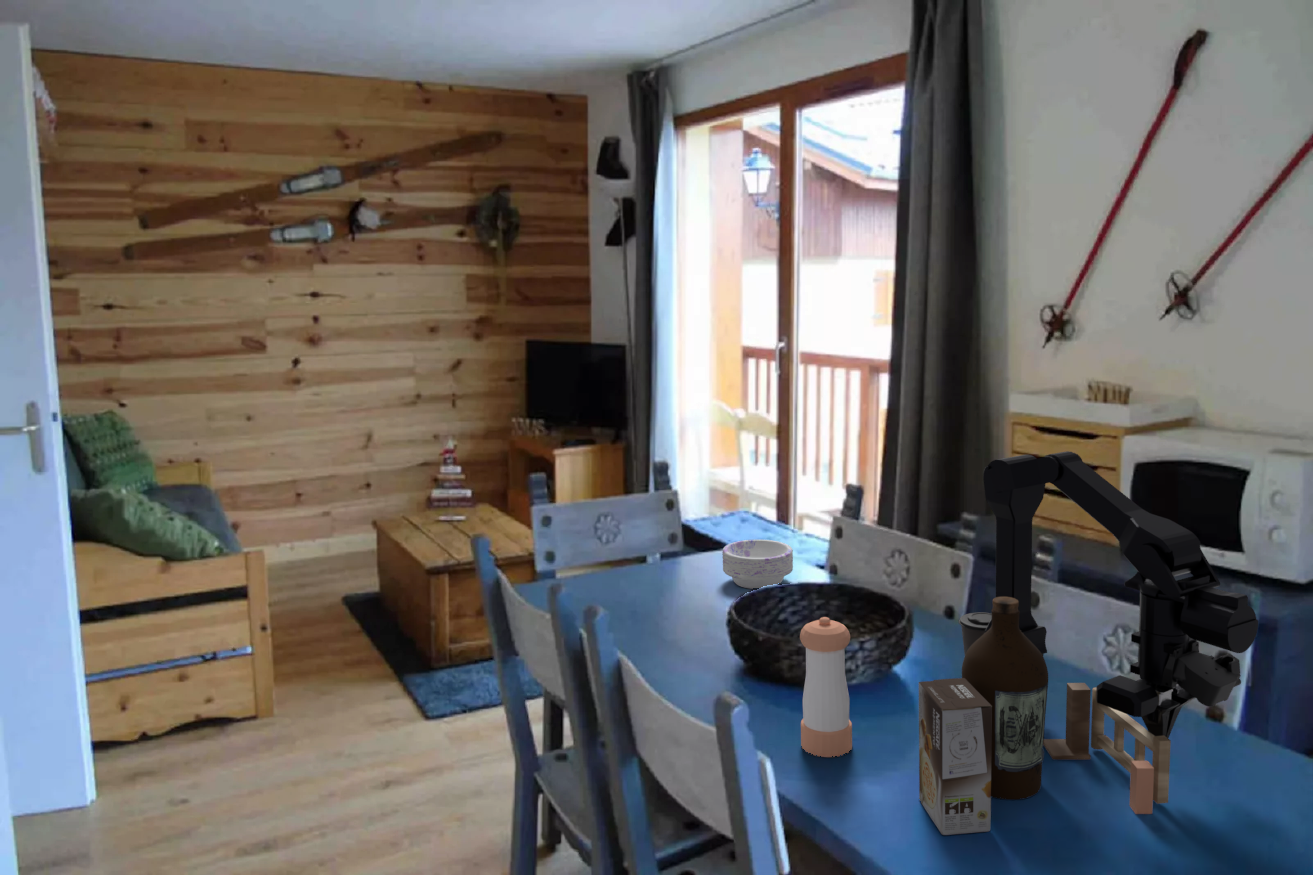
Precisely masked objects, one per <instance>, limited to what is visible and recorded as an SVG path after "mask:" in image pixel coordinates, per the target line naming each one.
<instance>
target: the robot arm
mask: <svg viewBox="0 0 1313 875" xmlns="http://www.w3.org/2000/svg"><path fill="white" fill-rule="evenodd" d="M982 476H983V477H982V478H983V480H982V481H983V486H984V487H983V488H984V495H985V496H984V497H985V500H986V503H987V504H988V506H989V508H990V510H992V513H993V514H994V517H995V527H996V528H995V598H996V597H1012V598H1015V599H1017V600H1018V601H1019V606H1018V610H1019V629H1020V630H1021V632H1022V633H1023V634H1024V635H1025V636H1026V637H1027V638H1028V639H1029V640H1030V641H1031V642H1032V643H1033V644H1034V645H1035V646H1036V647H1037V648H1038V650H1039V651H1040V652H1041V654H1042V655H1043V656H1044V654H1048V650H1047V647H1046V638H1047V632H1048V631H1047V628H1046V627H1045V626H1043V625H1042V626H1041V625H1039V624H1038V623H1037V621H1036V619H1035V618H1034V616H1033V615H1032V573H1033V572H1032V564H1033V562H1032V559H1033V558H1032V557H1033V518H1034V516H1035V515H1036V512H1037V510H1038V509H1039V507H1040V505H1041V503H1042V502H1043V499H1044V496H1045V491H1046V490H1045V489H1046V484H1049V483H1050V484H1052V485H1054V487H1056V488H1057V490H1059V491H1060V492H1062V493H1063V494H1064V495H1065V496H1067V498H1069V499H1070V500H1071V501H1072V502H1073V503H1074V504H1076V505H1077V506H1078V507H1079V508H1081V509H1082V510H1083V511H1084V512H1085V513H1086V514H1088V515H1089V516H1090V517H1091V518H1092V519H1094V520H1095V521H1097V523H1099V524H1100V525H1101V526H1102V527H1103V528H1105V529H1106V531H1108V532H1109V533H1111V534H1112V535H1113V536H1114V538H1115V539H1116V540H1117V541H1118V543H1119V546H1120V549H1121V553H1122V555H1123V556H1124V557H1125V558H1126V560H1127V561H1128V562H1129V563H1130V564H1131V565H1132V567H1133V568H1134V569H1135V570H1136V573H1135V574H1134V575H1133V576H1132V577H1131V578H1129V579H1127V580H1125V581H1124V587H1126V588H1129V589H1132V590H1137V591H1139V612H1138V614H1139V617H1138V619H1139V620H1138V622H1139V623H1138V630H1137V632H1133V633H1131V638H1130V641H1131V643H1135V644H1137V645H1138V648H1137V651H1138V652H1137V654H1138V656H1137V661H1136V662H1134V663H1131V664H1130V665H1129V666H1130V667H1129V668H1130V669H1129V671H1130V673H1132V674H1135V675H1137V676H1139V679H1136V680H1135V679H1131V678H1129V677H1126V676H1125V675H1124V676H1123V675H1121V674H1120V675H1117V676H1114V677H1111V678H1109V679H1106V680H1104V681H1102V682H1101V683H1099V684H1098V685H1096V701H1097V703H1100V704H1102V705H1105V706H1107V707H1110V708H1113V709H1115V710H1118V711H1120V712H1123V713H1126V714H1127V715H1129V716H1130V717H1135V718H1141V720H1142V721H1143V723H1144V726H1145V727H1146V729H1147V730H1148V731H1149V732H1150V733H1152V734H1153V735H1154V736H1165V737H1167V738H1168V739H1169V738H1170V736H1171V733H1172V730H1173V728H1174V726H1175V724H1176V721H1177V718H1178V716H1179V714H1180V712H1181V709H1182V708H1183V706H1184V705H1186V704H1187V703H1189V702H1191V701H1193V700H1195V699H1196V700H1197V701H1198V703H1200V704H1201V705H1203V706H1205V707H1215V706H1216V704H1219V703H1221V702H1225V701H1228V699H1229V697H1230V695H1231V694H1232V691H1233V690H1234V688H1236V687H1238V686H1240V685H1242V680H1241V679H1240V678H1241V666H1240V659H1239V658H1237V657H1235V656H1234V655H1233V654H1231V653H1227V654H1224V655H1222V656H1220V657H1218V658H1217V657H1214V656H1213V655H1208V654H1204V653H1201V652H1200V643H1204V644H1206V645H1210V646H1213V647H1217V648H1219V649H1223V650H1226V651H1229V652H1232V653H1234V654H1235V653H1236V654H1242V653H1245V652H1247V650H1248V649H1250V647H1251V646H1252V645H1253V643H1254V642H1255V639H1256V637H1257V633H1258V629H1259V620H1258V619H1257V616H1256V612H1255V610H1254V609H1253V607H1252V606H1250V605H1248V604H1249V602H1248V600H1249V596H1248V595H1247V594H1243V593H1239V592H1229V591H1226V590H1224V589H1223V590H1221V589H1218V587H1220V586H1221V582H1220V580H1219V578H1218V576H1217V575H1216V573H1215V572H1214V570H1213V568H1212V566H1211V565H1210V563H1209V561H1208V559H1207V558H1206V556H1205V554H1204V552H1203V551H1202V548H1201V544H1202V542H1201V541H1200V539H1199V538H1198V537H1197V535H1196V534H1195V533H1193V531H1191V530H1189V529H1187V527H1183V526H1182V525H1180V524H1178V523H1177V522H1175V521H1173V520H1171V519H1169V518H1166V517H1163V516H1159V515H1156V514H1153V513H1150V512H1148V511H1147V510H1145V509H1143V508H1142V507H1141V506H1140V505H1138V504H1136V503H1135V502H1134V501H1133V500H1132V499H1131V498H1129V497H1128V496H1127V495H1126V494H1125V493H1123V492H1122V491H1120V490H1119V489H1118V488H1116V487H1115V485H1113V484H1111V482H1109V481H1107V480H1106V479H1105V478H1104V477H1103V476H1101V475H1100V474H1099V473H1098V472H1096V471H1095V470H1094V469H1093V468H1092V467H1090V466H1089V465H1087V464H1086V463H1085V462H1084V461H1083V459H1082V457H1081V456H1080V455H1079V454H1078V453H1076V452H1073V451H1070V450H1069V451H1068V450H1067V451H1066V450H1065V451H1061V452H1055V453H1049V454H1046V455H1044V456H1043V457H1039V458H1037V457H1036V456H1034V455H1031V454H1022V455H1015V456H1010V457H1004V458H998V459H994V460H992V461H990V462H989V464H987V465H986V466H985V467H984V469H983V475H982ZM1186 574H1191V575H1192V576H1189V577H1185V578H1182V579H1181V578H1180V579H1177V580H1176V577H1177V576H1182V575H1186ZM991 626H992V619H991V621H990V623H989V624H988V626H987V628H986V630H985V633H986V632H987V631H988V630H989V629H990V628H991Z"/></svg>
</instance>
